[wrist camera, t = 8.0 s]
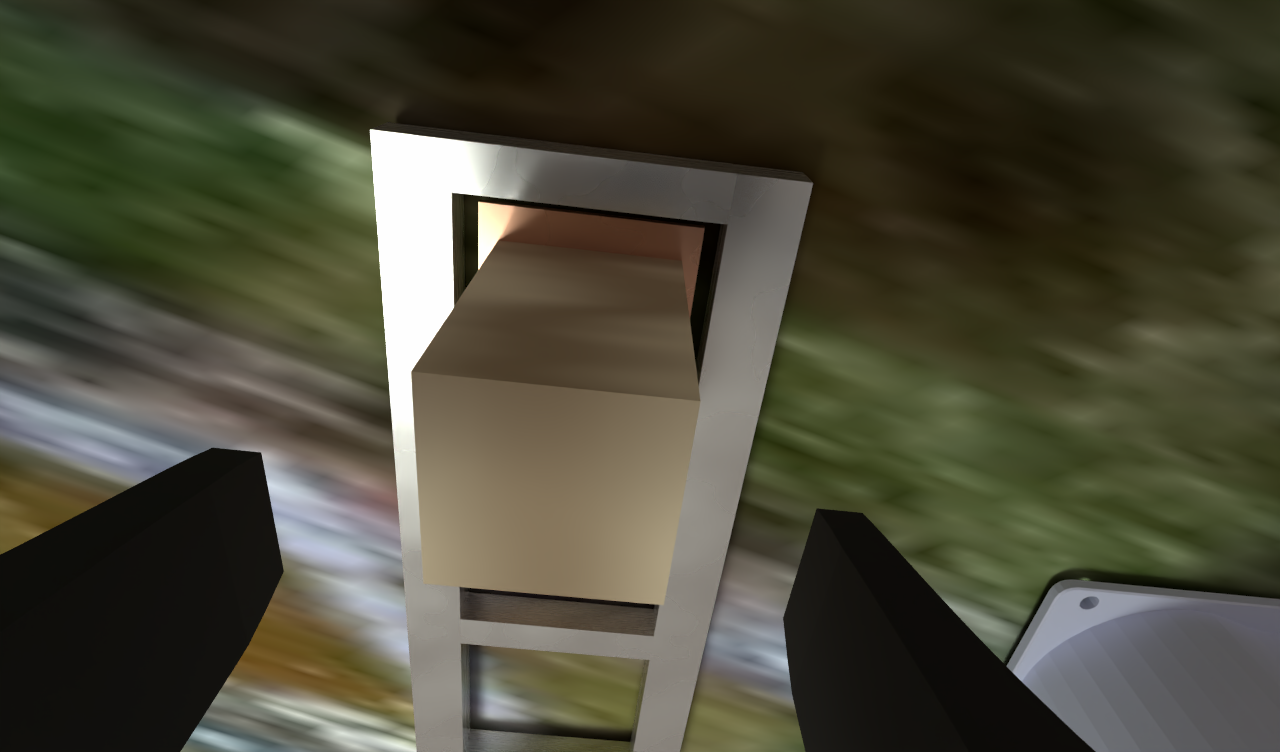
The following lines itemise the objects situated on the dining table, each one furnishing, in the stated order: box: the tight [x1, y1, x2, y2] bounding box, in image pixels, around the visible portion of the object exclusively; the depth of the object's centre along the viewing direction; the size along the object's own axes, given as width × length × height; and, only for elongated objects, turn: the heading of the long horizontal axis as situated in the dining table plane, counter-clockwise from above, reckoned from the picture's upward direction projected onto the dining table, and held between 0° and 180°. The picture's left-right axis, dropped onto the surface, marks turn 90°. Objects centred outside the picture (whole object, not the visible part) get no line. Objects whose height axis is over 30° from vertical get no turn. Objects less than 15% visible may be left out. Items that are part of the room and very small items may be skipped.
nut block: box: [411, 240, 701, 605], centre depth 13 cm, size 4×4×6 cm
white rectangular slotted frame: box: [370, 122, 813, 752], centre depth 18 cm, size 8×20×1 cm, turn 173°
